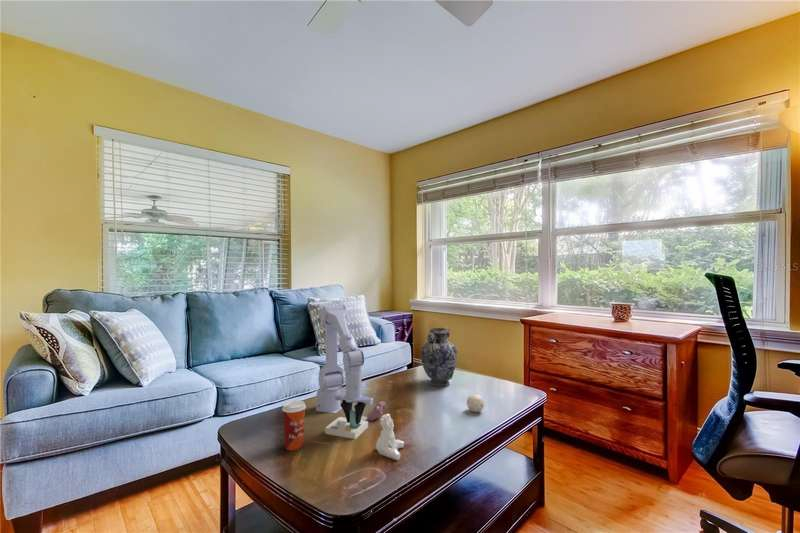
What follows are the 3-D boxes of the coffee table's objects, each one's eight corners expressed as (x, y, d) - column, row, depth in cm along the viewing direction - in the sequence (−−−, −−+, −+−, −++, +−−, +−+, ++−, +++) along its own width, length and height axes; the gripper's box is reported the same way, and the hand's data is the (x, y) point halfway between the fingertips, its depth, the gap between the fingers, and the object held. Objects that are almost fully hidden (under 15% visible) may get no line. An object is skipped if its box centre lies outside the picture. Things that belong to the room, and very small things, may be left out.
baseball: (471, 416, 139) (471, 399, 139) (464, 409, 146) (464, 392, 146) (487, 414, 140) (487, 397, 140) (479, 407, 148) (479, 391, 148)
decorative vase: (447, 392, 165) (445, 333, 166) (413, 386, 175) (412, 330, 176) (464, 381, 183) (463, 327, 184) (433, 376, 193) (432, 325, 194)
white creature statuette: (399, 461, 106) (399, 421, 106) (372, 459, 108) (371, 420, 108) (404, 446, 115) (404, 409, 116) (379, 444, 117) (378, 408, 117)
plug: (348, 431, 125) (347, 411, 125) (351, 427, 128) (351, 408, 128) (356, 432, 124) (356, 412, 124) (359, 428, 127) (359, 409, 127)
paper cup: (293, 454, 111) (292, 410, 111) (277, 448, 115) (276, 405, 115) (311, 444, 117) (311, 402, 117) (295, 438, 121) (295, 397, 122)
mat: (344, 422, 134) (344, 421, 134) (353, 415, 140) (353, 414, 140) (360, 425, 131) (360, 424, 131) (368, 418, 138) (368, 417, 138)
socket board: (325, 434, 124) (325, 426, 124) (339, 423, 133) (339, 416, 133) (355, 440, 120) (355, 432, 120) (368, 427, 129) (367, 420, 129)
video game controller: (375, 426, 134) (383, 410, 133) (365, 420, 135) (373, 404, 134) (382, 415, 144) (389, 401, 143) (372, 410, 144) (380, 395, 144)
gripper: (330, 385, 125) (330, 423, 124) (366, 390, 119) (367, 430, 119) (340, 379, 131) (340, 416, 131) (375, 383, 126) (375, 421, 126)
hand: (353, 422), depth 126 cm, fingers closed on plug, 3 cm apart
